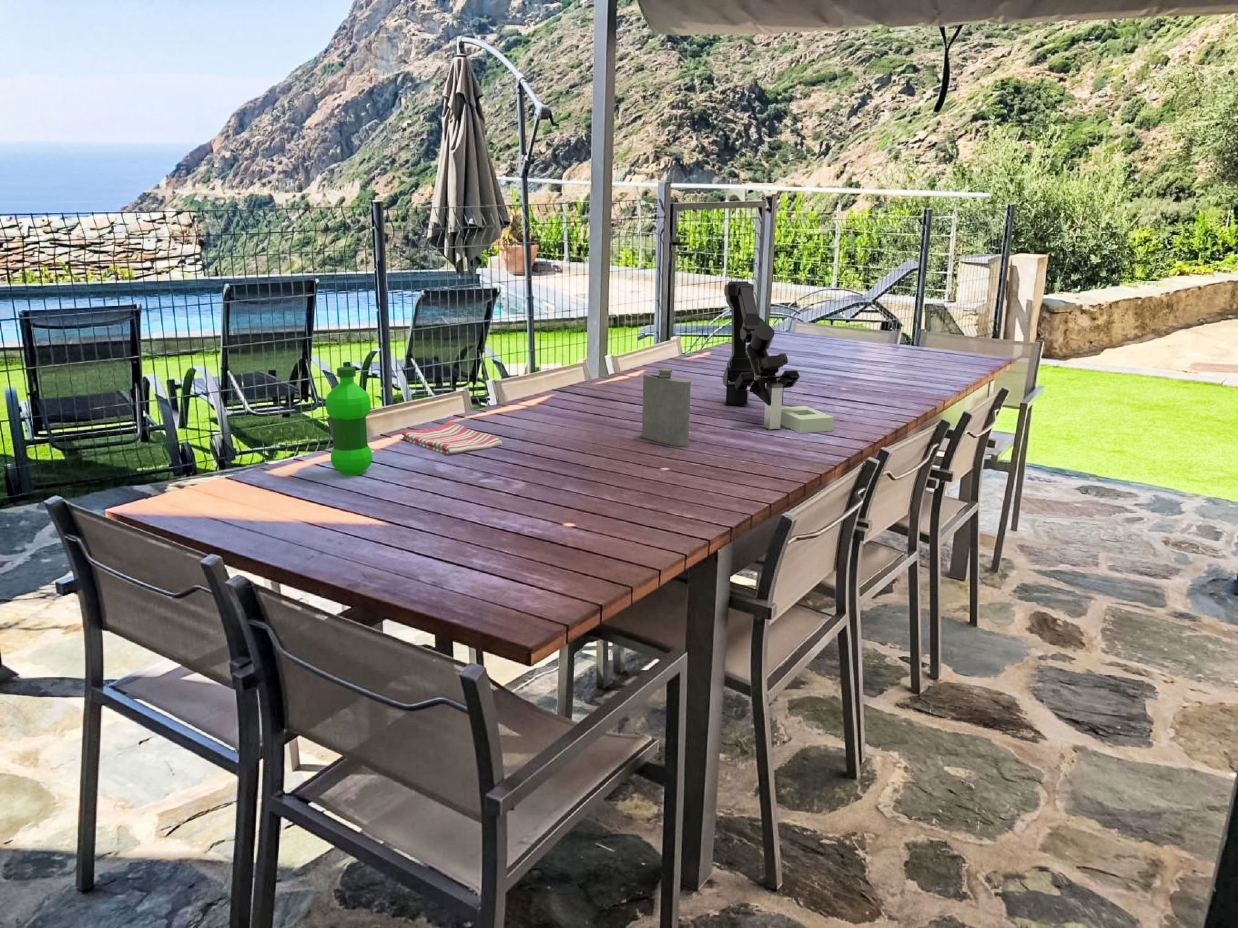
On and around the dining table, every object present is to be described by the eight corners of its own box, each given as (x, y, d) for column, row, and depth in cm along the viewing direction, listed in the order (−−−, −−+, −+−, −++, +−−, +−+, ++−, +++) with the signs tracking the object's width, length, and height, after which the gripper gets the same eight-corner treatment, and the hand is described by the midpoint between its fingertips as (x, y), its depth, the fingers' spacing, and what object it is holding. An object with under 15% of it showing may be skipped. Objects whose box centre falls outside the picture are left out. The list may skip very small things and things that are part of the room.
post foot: (772, 421, 287) (773, 408, 286) (804, 418, 290) (805, 405, 289) (800, 433, 272) (801, 419, 271) (833, 430, 276) (834, 417, 275)
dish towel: (452, 431, 270) (452, 419, 269) (503, 447, 254) (503, 434, 253) (400, 441, 258) (399, 428, 257) (450, 458, 242) (449, 445, 241)
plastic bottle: (321, 475, 224) (313, 370, 217) (348, 464, 233) (342, 363, 227) (356, 480, 220) (350, 373, 214) (383, 469, 230) (377, 366, 223)
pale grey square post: (763, 426, 278) (766, 382, 274) (774, 425, 279) (777, 382, 276) (769, 429, 275) (772, 385, 271) (780, 428, 276) (783, 384, 272)
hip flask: (690, 445, 257) (693, 371, 252) (681, 447, 255) (683, 373, 249) (647, 434, 268) (649, 364, 263) (637, 436, 265) (639, 365, 260)
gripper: (741, 345, 271) (757, 390, 264) (798, 342, 277) (816, 387, 270) (727, 367, 280) (742, 412, 273) (783, 364, 286) (799, 408, 280)
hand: (775, 404), depth 274 cm, fingers closed on pale grey square post, 3 cm apart
